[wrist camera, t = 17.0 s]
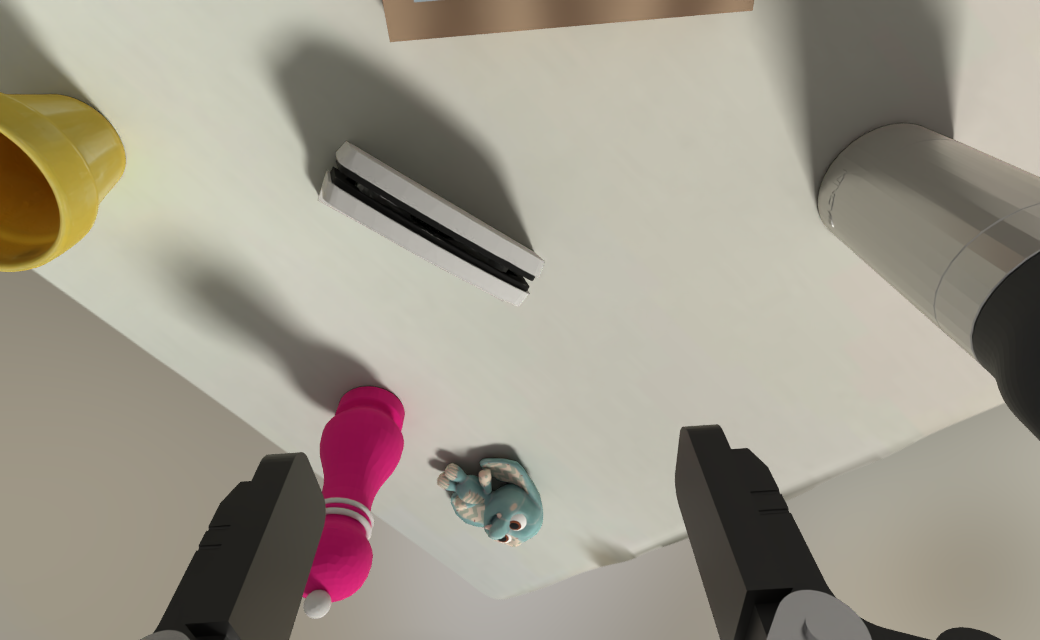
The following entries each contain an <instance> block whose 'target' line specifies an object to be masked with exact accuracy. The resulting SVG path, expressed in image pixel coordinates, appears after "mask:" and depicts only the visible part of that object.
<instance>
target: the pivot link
mask: <svg viewBox="0 0 1040 640" xmlns="http://www.w3.org/2000/svg"><path fill="white" fill-rule="evenodd" d="M425 1H436V0H414V2H425Z"/></svg>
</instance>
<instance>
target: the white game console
mask: <svg viewBox="0 0 1040 640" xmlns="http://www.w3.org/2000/svg"><path fill="white" fill-rule="evenodd" d="M335 154H336V157H337V160H336V162H337V166H338V169H339V170H338V169H336V168H335V167H333V168H332V170H331V172H330V171H329V170H326V174H325V177H324V180H323V184H322V187H321V190H320V194H319V197H318V201H320V202H322V203H323V204H325V205H327V206H329V207H331V208H333V209H335V210H336V211H338V212H340V213H342V214H344V215H346V216H347V217H349V218H351V219H353V220H355V221H357V222H358V223H360V224H362V225H364V226H366V227H368V228H369V229H371V230H373V231H375V232H377V233H378V234H380V235H382V236H384V237H385V238H387V239H389V240H391V241H392V242H394V243H396V244H398V245H399V246H401V247H403V248H405V249H406V250H408V251H410V252H412V253H413V254H415V255H417V256H419V257H421V258H422V259H424V260H426V261H428V262H430V263H432V264H434V265H435V266H437V267H439V268H441V269H443V270H445V271H447V272H448V273H450V274H452V275H454V276H456V277H458V278H460V279H462V280H464V281H466V282H468V283H470V284H472V285H474V286H476V287H478V288H479V289H481V290H483V291H485V292H487V293H489V294H490V295H492V296H494V297H496V298H498V299H500V300H501V301H506V302H508V303H511V304H513V305H515V306H519V305H520V304H521V303H522V302H523V301H524V300H525V298H526V297H527V296H528V295H529V294H530V293H529V292H528V288H529V285H528V284H527V282H526V281H525V279H524V278H523V277H525V278H527V279H529V280H531V281H533V280H534V278H535V277H538V278H539V277H540V275H541V272H542V269H543V266H544V263H545V261H544V260H542V259H541V258H540V257H539V256H538V255H537V254H536V253H535V252H533V251H532V250H530V249H528V248H527V247H525V246H523V245H522V244H520V243H518V242H517V241H515V240H513V239H512V238H510V237H508V236H506V235H505V234H503V233H501V232H500V231H498V230H496V229H495V228H493V227H491V226H490V225H488V224H486V223H484V222H483V221H481V220H479V219H478V218H476V217H474V216H473V215H471V214H469V213H468V212H466V211H464V210H463V209H461V208H459V207H457V206H456V205H454V204H452V203H451V202H449V201H447V200H446V199H444V198H442V197H441V196H439V195H437V194H435V193H434V192H432V191H430V190H429V189H427V188H425V187H424V186H422V185H420V184H419V183H417V182H415V181H414V180H412V179H410V178H408V177H407V176H405V175H403V174H402V173H400V172H398V171H397V170H395V169H393V168H392V167H390V166H388V165H386V164H385V163H383V162H381V161H380V160H378V159H376V158H375V157H373V156H371V155H370V154H368V153H366V152H365V151H363V150H361V149H359V148H358V147H356V146H354V145H353V144H351V143H349V142H348V141H345V143H344V144H343V145H342V146H341V147H340V148H339V149H338V151H337V152H336V153H335ZM356 182H358V184H357V186H355V184H356ZM409 213H410V214H412V215H413V216H415V217H417V218H419V219H420V220H422V221H424V222H425V223H427V224H429V225H431V226H432V227H434V228H436V229H438V230H439V231H441V232H443V233H445V234H446V235H448V236H450V237H452V239H446V238H444V237H442V236H440V235H438V234H436V233H435V232H433V231H431V230H429V229H427V228H426V227H424V226H422V225H420V224H419V223H417V222H415V221H414V220H412V218H411V217H410V216H409Z"/></svg>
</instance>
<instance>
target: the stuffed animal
mask: <svg viewBox="0 0 1040 640" xmlns="http://www.w3.org/2000/svg"><path fill="white" fill-rule="evenodd" d="M480 466H481V467H482V468H483V470H481V471H480V472H479V478H478V477H477V476H475V475H466V474H465V473H464V471H463V470H462V469H461V468H460V467H459V466H458V465H456V464H454V463H451V464H449V465H448V466H447V467H446V469H445V472H443V473H442V474H440V475H439V477H438V479H437V485H439V486H440V487H441V488H443V489H445V490H449V491H454V492H453V494H452V496H451V504H452V506H453V509H454V511H455V513H456V515H457V516H459V517H460V518H461V519H462V520H463V521H464V522H465V523H467V524H470V525H473V526H477V527H484V530H485V532H486V533H487V534H488V536H489V537H490V538H491V539H493V540H495V541H497V542H500V543H503V544H508V545H509V546H512V547H516V546H519V545H520V544H521V543H523V542H525V541H527V540H528V539H530V538H532V537H533V536H535V535H536V534H537V533H538V531H539V530H540V528H541V526H542V523H543V508H542V503H541V498H540V494H539V492H538V490H537V488H536V487H535V485H534V483H533V482H532V480H531V479H530V478H529V476H528V475H527V473H526V471H525V469H524V468H523V467H522V466H521V465H520V464H519V463H518V462H517V461H513V460H509V459H504V458H485V459H482V460H481V461H480ZM491 476H493V477H494V478H495V479H497V480H498V481H502V482H507V483H510V484H506V485H504V486H502V487H500V488H499V489H497V490H496V491H494V492H493V491H492V487H491Z"/></svg>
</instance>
